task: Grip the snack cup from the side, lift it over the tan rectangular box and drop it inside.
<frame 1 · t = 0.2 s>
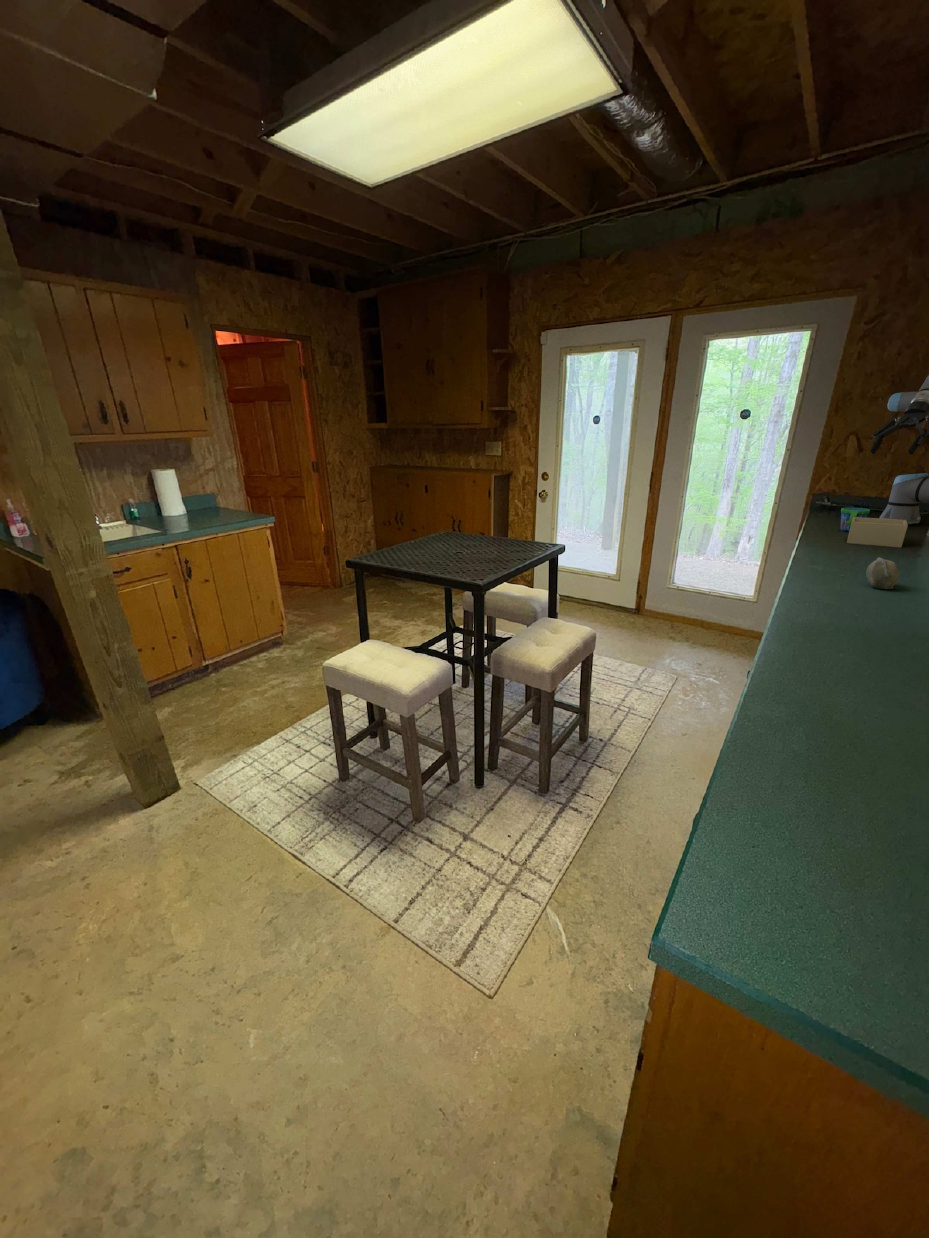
hand: (890, 452, 197), 36 cm above the kitchen counter, tool tilted 35°, fingers open, 13 cm apart
snack cup: (850, 531, 226), on the kitchen counter
garlic bulb: (878, 587, 152), on the kitchen counter
tan rectangular box: (873, 542, 204), on the kitchen counter
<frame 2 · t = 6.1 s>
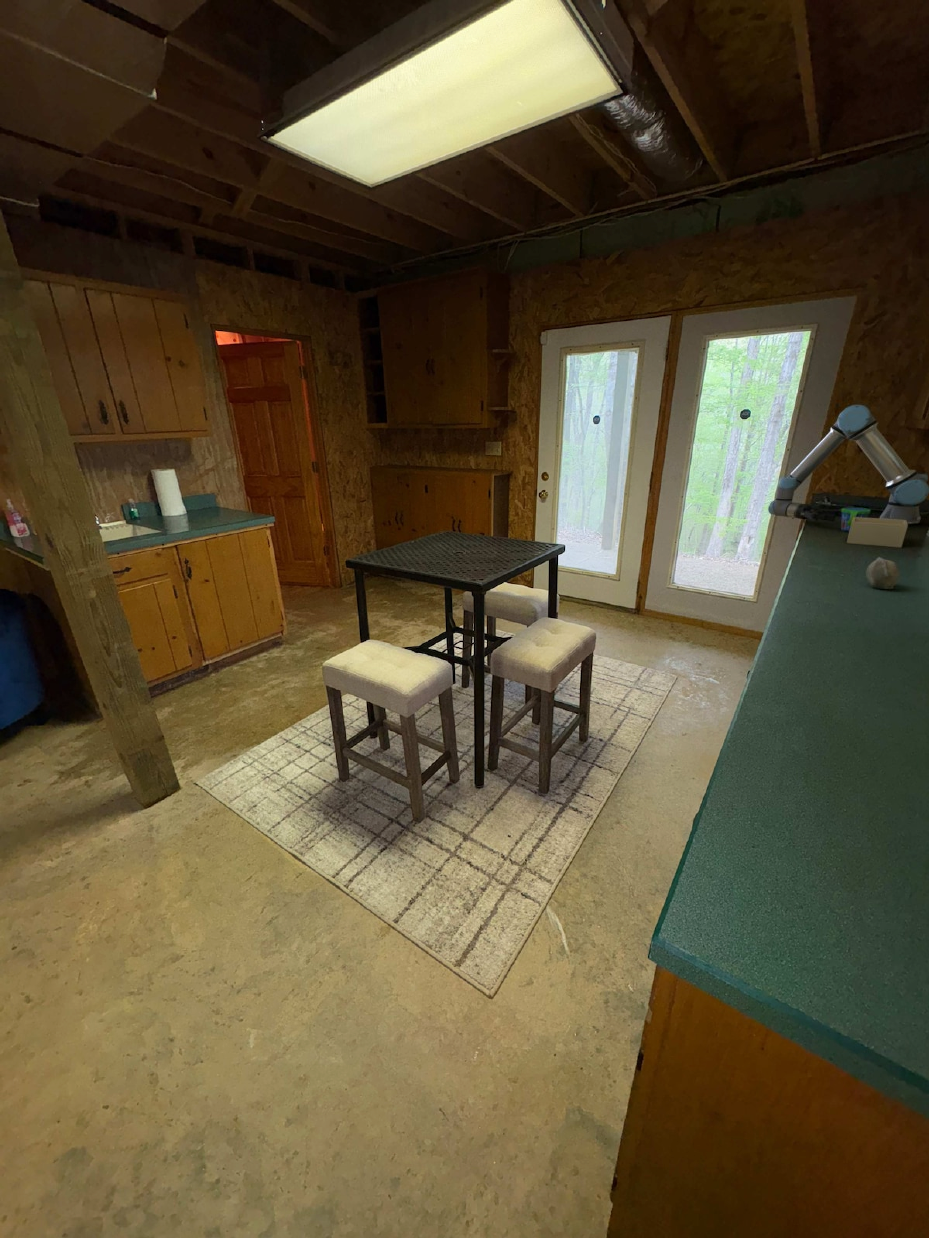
hand: (844, 516, 227), 6 cm above the kitchen counter, tool horizontal, fingers open, 13 cm apart
snack cup: (850, 531, 225), on the kitchen counter, touching gripper
everything else where it was.
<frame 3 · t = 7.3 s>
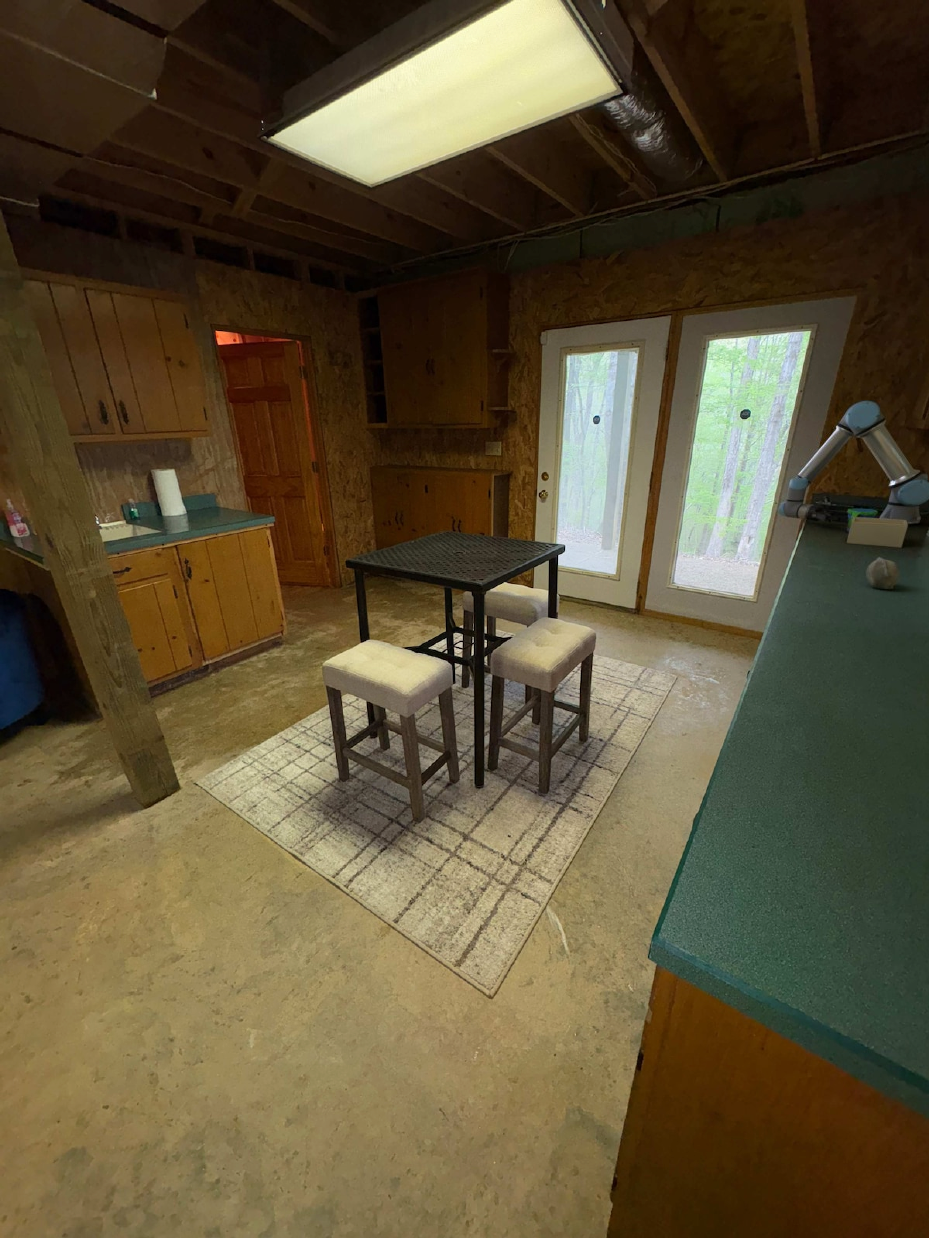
hand: (857, 518, 222), 6 cm above the kitchen counter, tool horizontal, fingers closed on snack cup, 13 cm apart
snack cup: (856, 532, 222), on the kitchen counter, touching gripper
everything else where it was.
when the fingers open (15 cm above the kitchen counter, at t = 16.2 s): snack cup stays where it is, resting on tan rectangular box.
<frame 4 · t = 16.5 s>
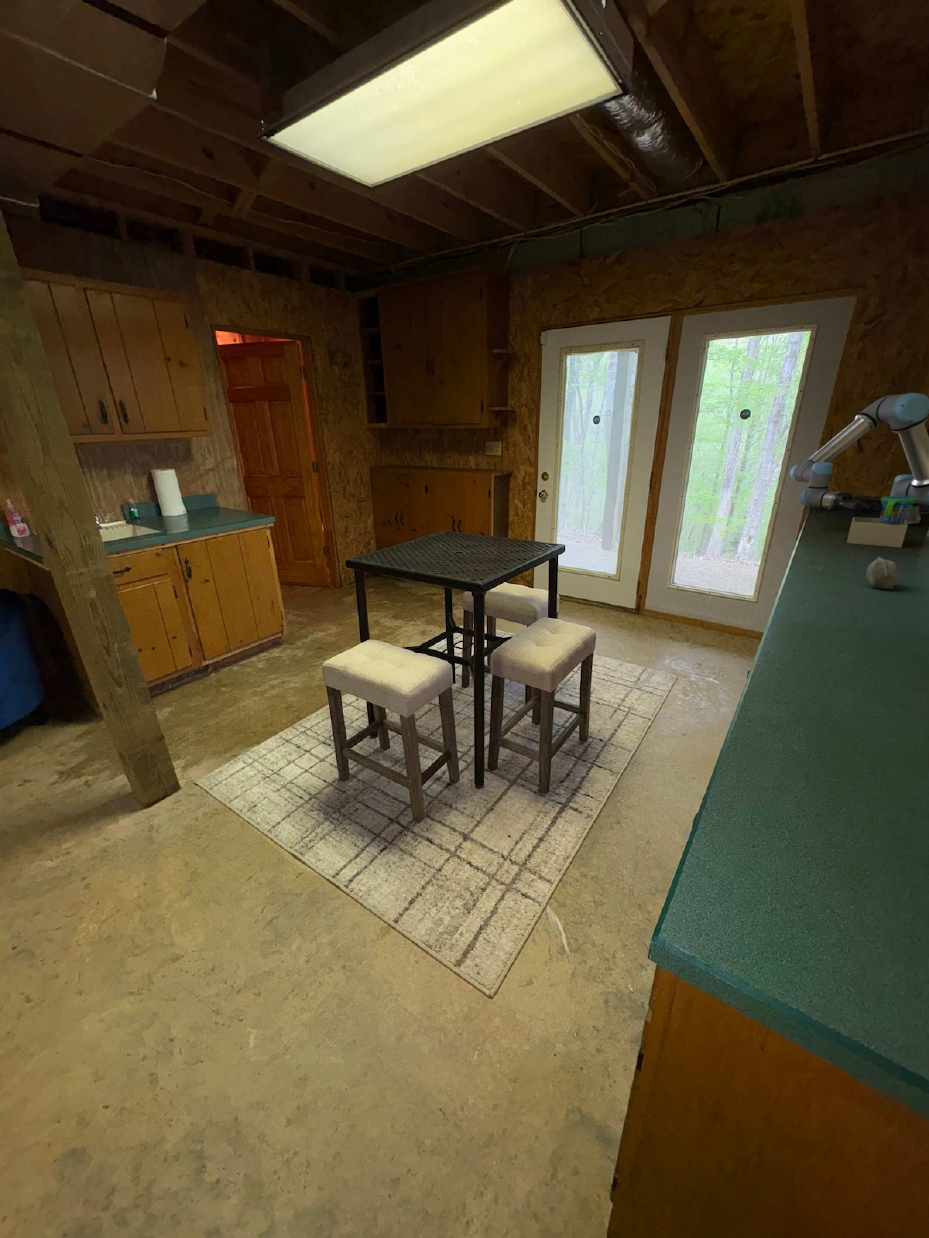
hand: (892, 506, 195), 15 cm above the kitchen counter, tool horizontal, fingers open, 13 cm apart
snack cup: (891, 523, 196), point 9 cm above the kitchen counter, touching gripper, tan rectangular box
everything else where it was.
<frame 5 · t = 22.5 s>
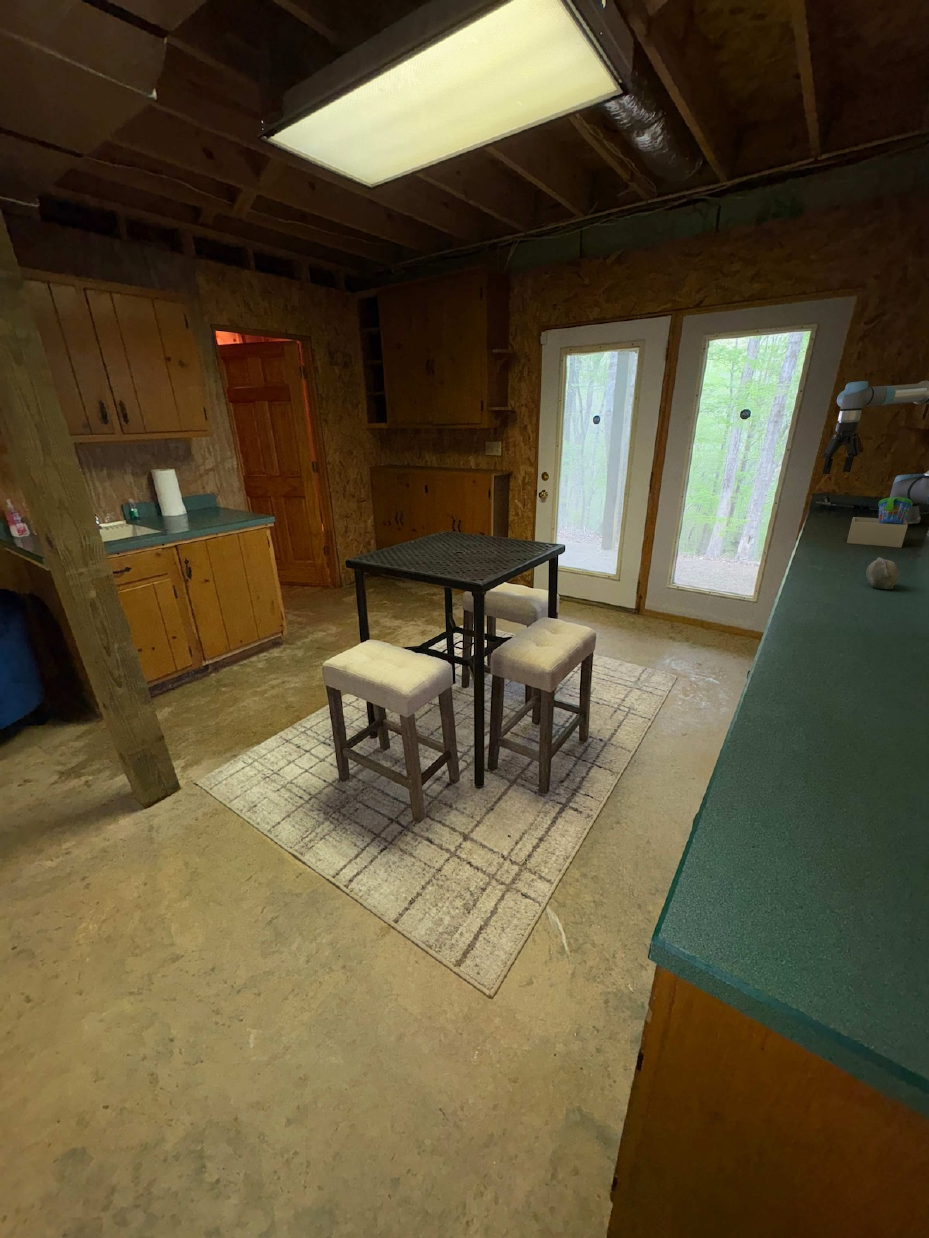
hand: (836, 473, 214), 27 cm above the kitchen counter, tool pointing down, fingers open, 13 cm apart
snack cup: (889, 526, 196), point 8 cm above the kitchen counter, touching tan rectangular box
everything else where it was.
at the end: snack cup inside the target area in the tan rectangular box (5.4 cm from its centre), point 7.7 cm above the tan rectangular box's base; the gripper is holding nothing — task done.
